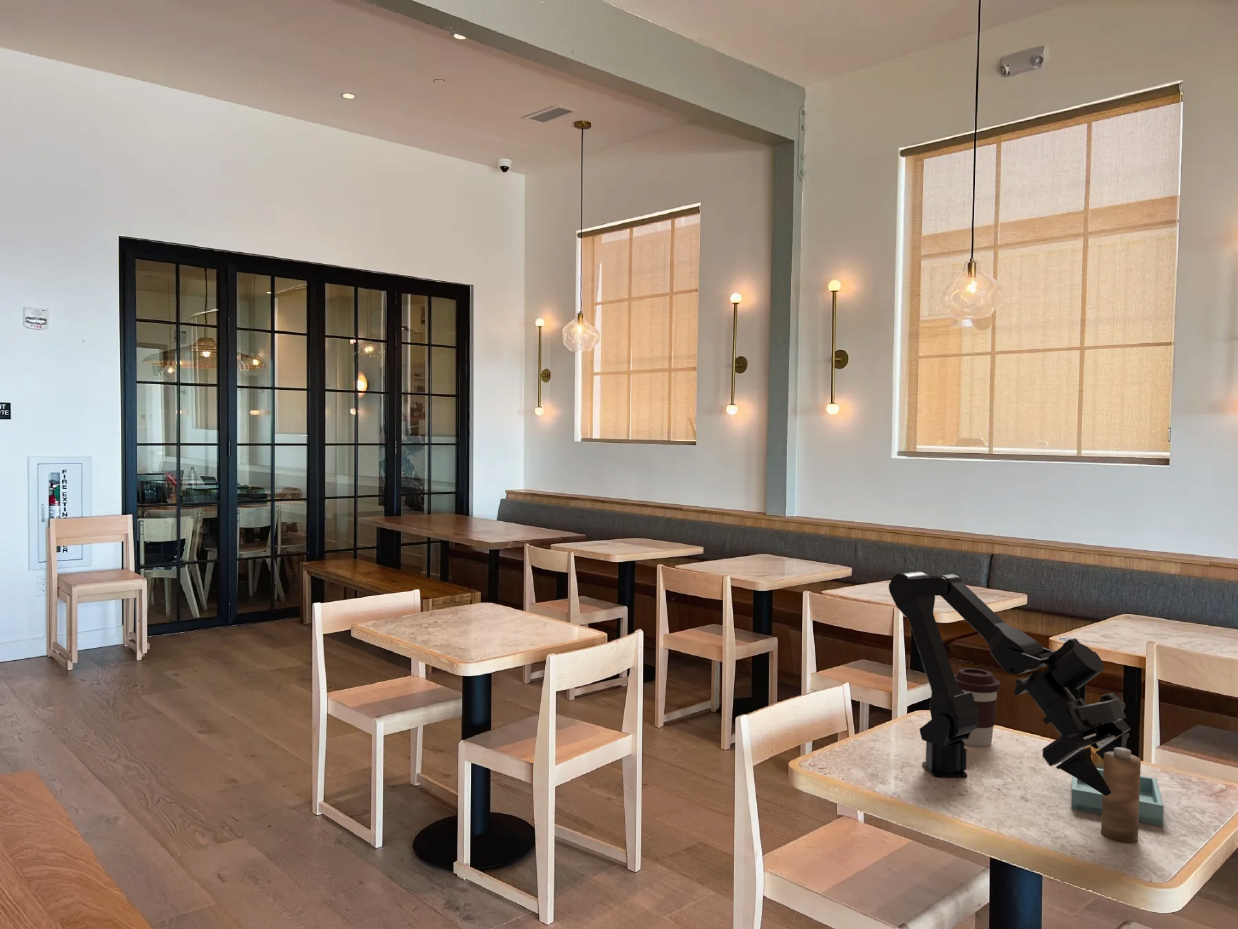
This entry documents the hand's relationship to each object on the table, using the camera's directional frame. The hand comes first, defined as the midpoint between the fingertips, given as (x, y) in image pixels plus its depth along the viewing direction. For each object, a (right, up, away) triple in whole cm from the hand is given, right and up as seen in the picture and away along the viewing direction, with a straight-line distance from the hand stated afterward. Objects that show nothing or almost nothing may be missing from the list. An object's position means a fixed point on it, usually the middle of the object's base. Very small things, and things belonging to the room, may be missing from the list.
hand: (1122, 788), depth 141 cm
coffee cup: (-6, -7, +44) cm, 45 cm away
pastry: (+12, -8, +32) cm, 35 cm away
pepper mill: (0, -8, 0) cm, 8 cm away
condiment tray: (+6, -8, +14) cm, 17 cm away
